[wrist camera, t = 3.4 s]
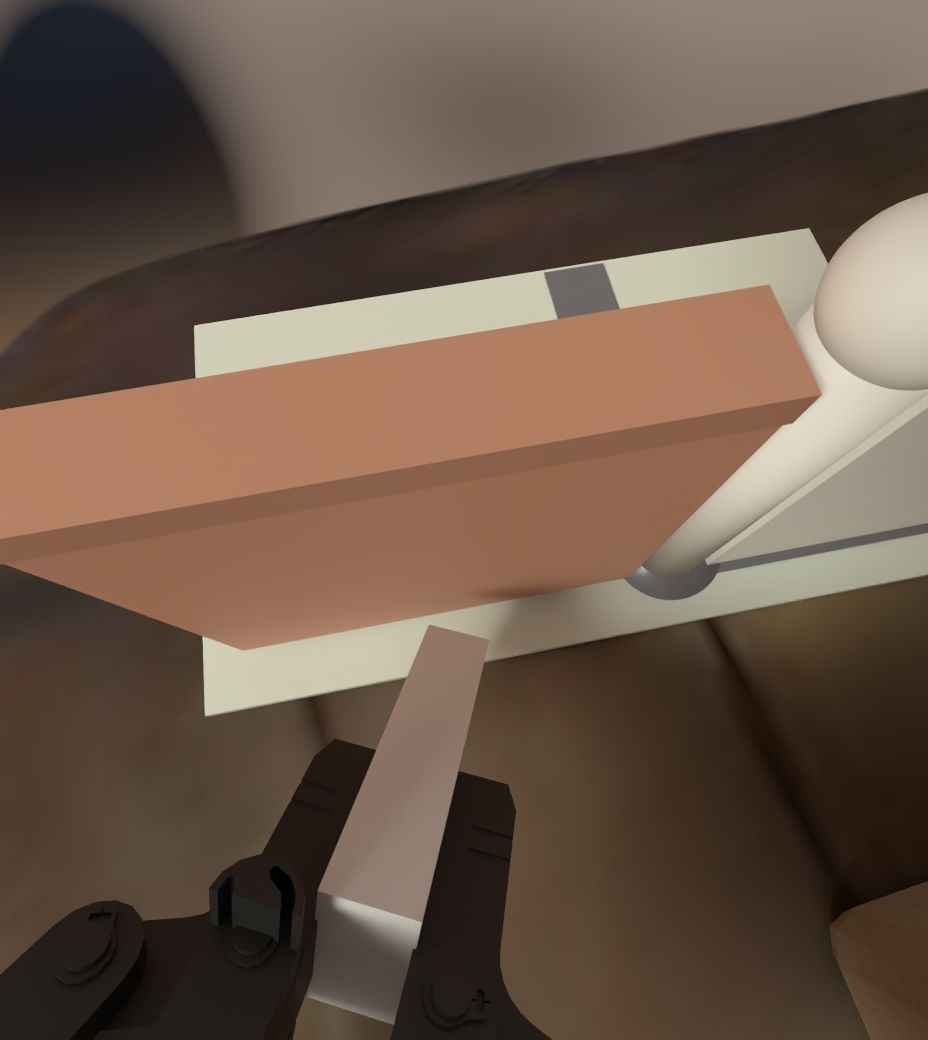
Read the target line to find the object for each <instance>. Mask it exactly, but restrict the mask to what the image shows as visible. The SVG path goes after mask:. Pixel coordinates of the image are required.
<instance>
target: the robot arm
mask: <svg viewBox="0 0 928 1040" xmlns="http://www.w3.org/2000/svg"><path fill="white" fill-rule="evenodd" d="M488 643H489V639H485V638H481V637H477V636H473V635H469V634H465V633H461V632H457V631H453V630H449V629H445V628H441V627H437V626H433V625H429V626H428V628H427V630H426V633H425V635H424V638H423V640H422V642H421V645H420V647H419V650H418V652H417V654H416V657H415V659H414V662H413V664H412V666H411V669H410V671H409V673H408V676H407V678H406V681H405V683H404V685H403V688H402V690H401V693H400V695H399V697H398V700H397V702H396V705H395V707H394V709H393V712H392V714H391V716H390V719H389V721H388V724H387V726H386V728H385V731H384V733H383V736H382V738H381V740H380V743H379V745H378V748H377V750H374V749H370V748H367V747H363V746H359V745H356V744H352V743H349V742H345V741H341V740H338V739H334V740H333V741H332V742H331V743H330V744H328V745H327V746H326V747H325V748H324V749H322V750H321V751H320V752H319V753H318V754H316V755H315V756H314V758H313V760H312V762H311V764H310V765H309V767H308V769H307V771H306V773H305V775H304V777H303V778H302V782H301V784H299V786H298V788H297V790H296V791H295V793H294V795H293V797H292V799H291V802H290V803H289V804H288V806H287V808H286V810H285V812H284V814H283V815H282V817H281V819H280V821H279V823H278V825H277V826H276V828H275V830H274V832H273V834H272V836H271V838H270V839H269V841H268V843H267V845H266V847H265V849H264V851H263V852H262V854H261V855H257V856H253V857H249V858H246V859H242V860H240V861H238V862H236V863H235V864H233V865H232V866H230V867H229V868H227V869H226V870H224V871H223V872H222V873H221V874H220V875H219V877H218V878H217V879H216V880H215V881H214V883H213V884H212V885H211V886H210V887H209V899H210V911H209V912H207V913H204V914H202V915H197V916H192V917H186V918H174V919H160V920H146V921H142V918H141V917H140V915H139V914H138V913H137V912H136V910H135V909H134V908H133V906H130V905H127V904H125V903H122V902H119V901H101V902H95V903H92V904H90V905H87V906H85V907H82V908H80V909H77V910H75V911H73V912H72V913H70V914H69V915H68V916H66V917H65V918H63V919H62V920H61V921H59V922H58V923H57V924H55V925H54V926H53V927H52V928H51V929H49V930H48V931H47V932H46V933H45V934H44V935H43V936H42V937H41V938H40V939H39V940H38V941H36V942H35V943H34V944H33V945H32V946H31V947H30V948H29V949H28V950H27V951H26V952H25V953H23V954H22V955H21V956H20V957H19V958H18V959H17V960H16V961H15V962H14V963H13V964H12V965H10V966H9V967H8V968H7V969H6V970H5V971H4V972H3V973H2V974H1V975H0V1040H293V1035H294V1031H295V1025H296V1018H297V1016H298V1013H299V1010H300V1008H301V1005H302V1002H303V1000H304V997H305V994H306V992H307V989H308V986H309V990H308V997H309V998H312V999H315V1000H318V1001H321V1002H324V1003H328V1004H331V1005H334V1006H337V1007H340V1008H343V1009H346V1010H349V1011H353V1012H356V1013H359V1014H362V1015H365V1016H368V1017H371V1018H374V1019H377V1020H381V1021H384V1022H387V1023H390V1024H393V1025H394V1027H393V1031H392V1035H391V1039H390V1040H552V1039H550V1038H549V1037H548V1036H547V1035H545V1034H544V1033H543V1032H541V1031H540V1030H539V1029H538V1028H536V1027H535V1026H534V1025H532V1024H531V1023H530V1022H529V1021H528V1020H527V1019H526V1018H525V1017H524V1016H523V1015H522V1014H521V1013H520V1012H519V1010H518V1009H517V1007H516V1006H515V1004H514V1003H513V1001H512V1000H511V998H510V996H509V994H508V991H507V989H506V987H505V984H504V982H503V977H502V973H501V968H500V947H501V938H502V929H503V920H504V911H505V903H506V894H507V885H508V876H509V867H510V865H509V864H510V859H511V850H512V839H513V832H514V823H515V814H516V809H515V806H514V802H513V799H512V796H511V793H510V789H509V786H508V785H507V784H504V783H500V782H496V781H493V780H489V779H486V778H482V777H478V776H475V775H471V774H467V773H464V772H460V771H459V769H460V765H461V760H462V756H463V752H464V748H465V743H466V739H467V735H468V731H469V726H470V722H471V718H472V713H473V709H474V705H475V700H476V696H477V691H478V687H479V683H480V678H481V674H482V670H483V665H484V661H485V656H486V652H487V648H488Z"/></svg>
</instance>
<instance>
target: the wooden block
mask: <svg viewBox="0 0 928 1040" xmlns="http://www.w3.org/2000/svg"><path fill="white" fill-rule="evenodd" d="M829 928H830V935H831V942H832V950H833V953H834V955H835V958H836V960H837V962H838V965H839V967H840V969H841V972H842V974H843V976H844V979H845V981H846V983H847V986H848V988H849V990H850V993H851V995H852V997H853V1000H854V1002H855V1004H856V1007H857V1009H858V1011H859V1014H860V1016H861V1019H862V1021H863V1023H864V1026H865V1028H866V1030H867V1033H868V1035H869V1037H870V1040H928V881H927V882H924V883H921V884H918V885H915V886H913V887H910V888H907V889H904V890H901V891H899V892H896V893H893V894H890V895H887V896H884V897H882V898H879V899H876V900H873V901H870V902H868V903H865V904H862V905H859V906H856V907H854V908H851V909H849V910H847V911H844V912H843V913H842V914H841V915H840V916H839V917H838V918H837V919H836V920H835V921H834V922H833V923H832V924H831V925H830V926H829Z"/></svg>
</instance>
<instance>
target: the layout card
mask: <svg viewBox="0 0 928 1040" xmlns="http://www.w3.org/2000/svg"><path fill="white" fill-rule="evenodd" d="M827 265H828V263H827V261H826V259H825V257H824V255H823V253H822V251H821V250H820V248H819V246H818V244H817V242H816V240H815V238H814V236H813V235H812V233H811V231H810V229H809V228H807V229H801V230H795V231H788V232H782V233H776V234H769V235H763V236H757V237H751V238H744V239H738V240H732V241H725V242H719V243H713V244H706V245H700V246H694V247H687V248H681V249H675V250H669V251H662V252H656V253H650V254H643V255H637V256H631V257H624V258H618V259H612V260H605V261H599V262H593V263H587V264H580V265H574V266H568V267H561V268H555V269H549V270H542V271H536V272H530V273H523V274H517V275H511V276H505V277H498V278H492V279H486V280H479V281H473V282H467V283H460V284H454V285H448V286H441V287H435V288H429V289H423V290H416V291H410V292H404V293H397V294H391V295H385V296H378V297H372V298H366V299H359V300H353V301H347V302H341V303H334V304H328V305H322V306H315V307H309V308H303V309H296V310H290V311H284V312H277V313H271V314H265V315H259V316H252V317H246V318H240V319H233V320H227V321H221V322H214V323H208V324H202V325H195V326H194V336H195V372H196V378H201V377H207V376H213V375H219V374H225V373H231V372H237V371H243V370H250V369H256V368H262V367H268V366H274V365H280V364H286V363H292V362H298V361H305V360H311V359H317V358H323V357H329V356H335V355H341V354H347V353H353V352H360V351H366V350H372V349H378V348H384V347H390V346H396V345H402V344H409V343H415V342H421V341H427V340H433V339H439V338H445V337H451V336H457V335H464V334H470V333H476V332H482V331H488V330H494V329H500V328H506V327H512V326H519V325H525V324H531V323H537V322H543V321H549V320H555V319H561V318H567V317H574V316H580V315H586V314H592V313H598V312H604V311H610V310H616V309H623V308H629V307H635V306H641V305H647V304H653V303H659V302H665V301H671V300H678V299H684V298H690V297H696V296H702V295H708V294H714V293H720V292H726V291H733V290H739V289H745V288H751V287H757V286H763V285H769V284H770V286H771V289H772V291H773V293H774V295H775V297H776V299H777V301H778V303H779V305H780V307H781V309H782V311H783V314H784V316H785V318H786V320H787V322H788V324H789V326H790V328H791V330H792V329H793V328H794V327H795V326H796V324H797V323H798V322H799V321H800V319H801V318H802V317H803V315H804V314H805V313H806V312H807V310H808V309H809V308H810V307H811V305H812V304H813V303H814V302H815V296H816V293H817V289H818V285H819V282H820V280H821V278H822V275H823V273H824V271H825V269H826V267H827ZM923 576H928V523H925V524H920V525H915V526H910V527H904V528H899V529H894V530H889V531H883V532H878V533H873V534H868V535H862V536H857V537H852V538H847V539H841V540H836V541H831V542H826V543H820V544H815V545H810V546H805V547H799V548H794V549H789V550H784V551H779V552H773V553H768V554H763V555H758V556H752V557H747V558H742V559H737V560H731V561H726V562H720V563H715V564H710V565H707V563H706V561H705V560H704V561H703V562H701V563H700V564H699V565H697V566H696V567H694V568H693V569H692V570H690V571H689V572H688V573H686V574H684V575H682V576H679V577H674V578H665V577H660V576H657V575H654V574H652V573H650V572H649V571H647V570H646V569H645V568H643V567H642V566H640V567H639V568H638V569H637V570H636V571H635V572H634V573H633V574H632V575H631V576H630V577H628V578H623V579H618V580H613V581H607V582H602V583H597V584H592V585H586V586H581V587H576V588H571V589H565V590H560V591H555V592H550V593H544V594H539V595H534V596H529V597H523V598H518V599H513V600H508V601H502V602H497V603H492V604H487V605H481V606H476V607H471V608H466V609H460V610H455V611H450V612H445V613H439V614H434V615H429V616H424V617H418V618H413V619H408V620H403V621H397V622H392V623H387V624H382V625H376V626H371V627H366V628H361V629H355V630H350V631H345V632H340V633H334V634H329V635H324V636H318V637H313V638H308V639H303V640H297V641H292V642H287V643H282V644H276V645H271V646H266V647H261V648H255V649H250V650H245V651H242V650H239V649H237V648H234V647H231V646H228V645H226V644H223V643H220V642H217V641H215V640H212V639H209V638H206V637H204V636H203V660H204V695H205V716H214V715H219V714H224V713H229V712H235V711H240V710H245V709H250V708H255V707H260V706H265V705H270V704H275V703H280V702H286V701H291V700H296V699H301V698H306V697H311V696H316V695H321V694H326V693H331V692H337V691H342V690H347V689H352V688H357V687H362V686H367V685H372V684H377V683H383V682H388V681H393V680H398V679H403V678H407V676H408V673H409V671H410V669H411V666H412V664H413V662H414V659H415V657H416V654H417V652H418V650H419V647H420V645H421V642H422V640H423V638H424V635H425V633H426V630H427V628H428V626H429V625H433V626H437V627H441V628H445V629H449V630H453V631H457V632H461V633H465V634H469V635H473V636H477V637H481V638H485V639H489V643H488V648H487V652H486V656H485V661H484V663H485V662H490V661H495V660H500V659H505V658H510V657H515V656H520V655H525V654H530V653H536V652H541V651H546V650H551V649H556V648H561V647H566V646H571V645H576V644H582V643H587V642H592V641H597V640H602V639H607V638H612V637H617V636H622V635H627V634H633V633H638V632H643V631H648V630H653V629H658V628H663V627H668V626H673V625H678V624H684V623H689V622H694V621H699V620H704V619H709V618H714V617H719V616H724V615H729V614H735V613H740V612H745V611H750V610H755V609H760V608H765V607H770V606H775V605H781V604H786V603H791V602H796V601H801V600H806V599H811V598H816V597H821V596H826V595H832V594H837V593H842V592H847V591H852V590H857V589H862V588H867V587H872V586H877V585H883V584H888V583H893V582H898V581H903V580H908V579H913V578H918V577H923Z"/></svg>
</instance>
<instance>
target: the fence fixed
mask: <svg viewBox="0 0 928 1040" xmlns="http://www.w3.org/2000/svg"><path fill="white" fill-rule="evenodd" d="M792 332H793V334H794V336H795V339H796V341H797V343H798V345H799V347H800V349H801V351H802V353H803V355H804V357H805V359H806V361H807V364H808V366H809V368H810V370H811V372H812V374H813V376H814V378H815V380H816V382H817V384H818V387H819V389H820V391H821V393H822V396H820V397H819V398H818V399H817V400H816V401H815V402H814V403H813V404H812V405H811V406H810V407H809V408H808V409H807V410H806V411H805V412H804V413H803V414H802V415H801V416H800V417H799V418H798V419H797V420H796V421H795V422H794V423H793V424H787V425H782V426H781V427H780V428H779V429H778V430H777V431H776V432H775V433H774V434H773V435H772V436H771V437H770V438H769V439H768V440H767V441H766V442H765V443H764V444H763V445H762V446H761V447H760V448H759V449H758V450H757V451H756V452H755V453H754V454H753V455H752V456H751V457H750V458H749V459H748V460H747V461H746V462H745V463H744V464H743V465H742V466H741V467H740V468H739V469H738V470H737V471H736V472H735V473H734V474H733V475H732V476H731V477H730V478H729V479H728V480H727V481H726V482H725V483H724V484H723V485H722V486H721V487H720V488H719V489H718V490H717V491H716V492H715V493H714V494H713V495H712V496H711V497H710V498H709V499H708V500H707V501H706V502H705V503H704V504H703V505H702V506H701V507H700V508H699V509H698V510H697V511H696V512H695V513H693V514H692V515H691V516H690V517H689V518H688V519H687V520H686V521H685V522H684V523H683V524H682V525H681V526H680V527H679V528H678V529H677V530H676V531H675V532H674V533H673V534H672V535H671V536H670V537H669V538H668V539H667V540H666V541H665V542H664V543H663V544H662V545H661V546H660V547H659V548H658V549H657V550H656V551H655V552H654V553H653V554H652V555H651V556H650V557H649V558H648V559H647V560H646V561H645V562H644V563H643V564H642V565H641V566H642V567H643V568H645V569H646V570H647V571H649V572H650V573H652V574H654V575H657V576H660V577H665V578H674V577H679V576H682V575H684V574H686V573H688V572H689V571H690V570H692V569H693V568H694V567H696V566H697V565H699V564H700V563H701V562H703V561H704V560H705V561H706V563H707V565H710V564H715V563H720V562H726V561H731V560H737V559H742V558H747V557H752V556H758V555H763V554H768V553H773V552H779V551H784V550H789V549H794V548H799V547H805V546H810V545H815V544H820V543H826V542H831V541H836V540H841V539H847V538H852V537H857V536H862V535H868V534H873V533H878V532H883V531H889V530H894V529H899V528H904V527H910V526H915V525H920V524H925V523H928V193H926V194H921V195H918V196H915V197H913V198H910V199H907V200H905V201H902V202H899V203H897V204H895V205H893V206H892V207H890V208H888V209H886V210H884V211H882V212H880V213H879V214H877V215H876V216H874V217H873V218H872V219H870V220H869V221H867V222H866V223H864V224H863V225H862V226H861V227H859V228H858V229H857V230H856V231H855V232H854V233H853V234H852V235H851V236H850V237H849V238H848V239H847V240H846V241H845V242H844V243H843V244H842V245H841V246H840V248H839V249H838V250H837V252H836V253H835V254H834V256H833V257H832V259H831V260H830V262H829V263H828V265H827V267H826V269H825V271H824V273H823V275H822V278H821V280H820V282H819V285H818V289H817V293H816V296H815V302H814V303H813V304H812V305H811V307H810V308H809V309H808V310H807V312H806V313H805V314H804V315H803V317H802V318H801V319H800V321H799V322H798V323H797V324H796V326H795V327H794V328H793V329H792Z"/></svg>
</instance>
